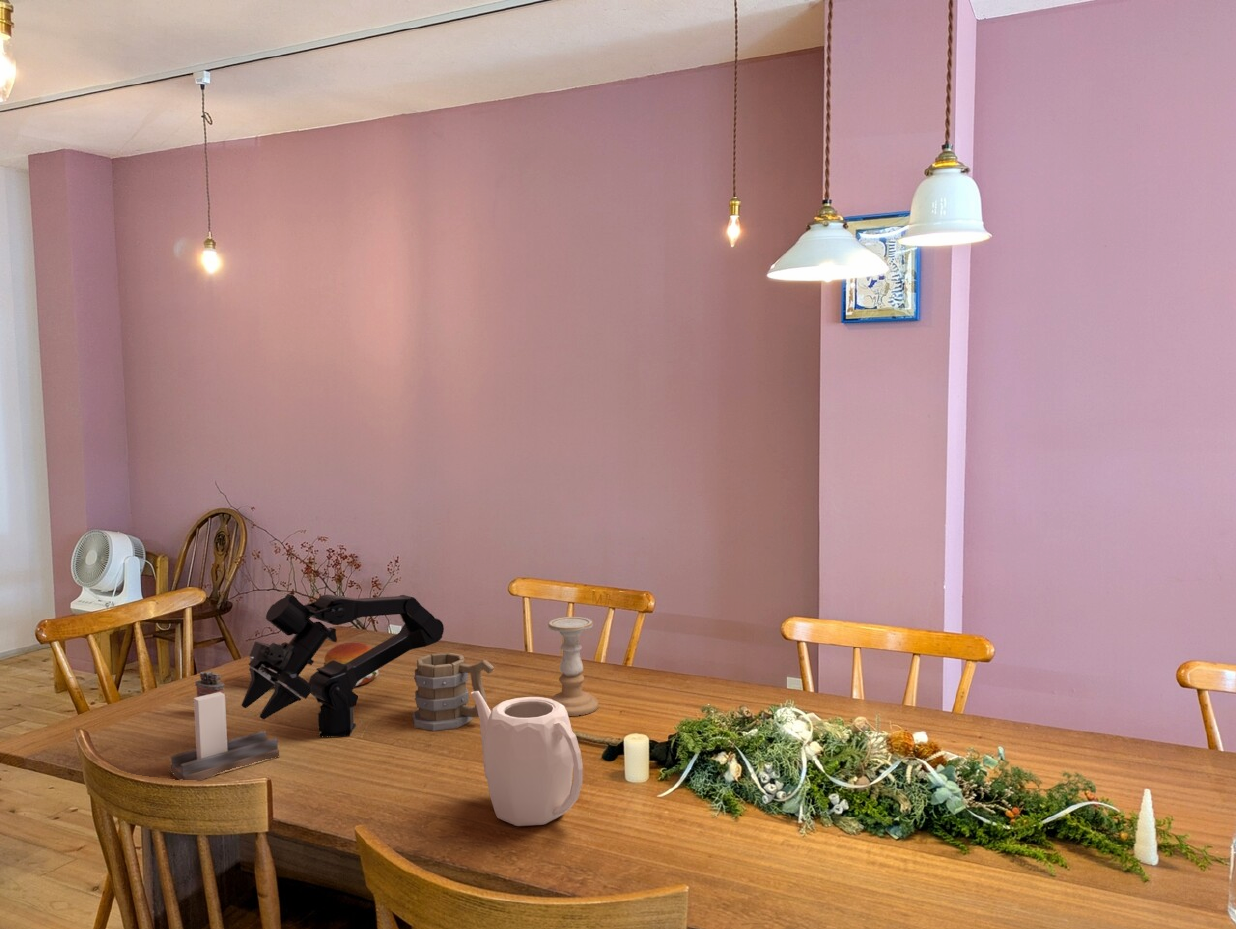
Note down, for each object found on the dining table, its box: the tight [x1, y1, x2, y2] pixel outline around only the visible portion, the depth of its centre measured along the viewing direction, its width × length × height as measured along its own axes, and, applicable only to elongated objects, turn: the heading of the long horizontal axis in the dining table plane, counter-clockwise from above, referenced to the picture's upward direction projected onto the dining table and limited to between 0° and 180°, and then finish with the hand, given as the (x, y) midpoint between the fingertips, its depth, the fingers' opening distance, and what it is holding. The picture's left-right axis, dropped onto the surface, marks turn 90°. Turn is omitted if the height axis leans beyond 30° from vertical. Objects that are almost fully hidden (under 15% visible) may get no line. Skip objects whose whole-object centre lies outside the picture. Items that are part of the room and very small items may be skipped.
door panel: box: [193, 692, 228, 759], centre depth 174 cm, size 5×2×13 cm, turn 134°
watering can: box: [470, 690, 584, 827], centre depth 154 cm, size 16×27×19 cm, turn 50°
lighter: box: [195, 670, 225, 697], centre depth 204 cm, size 8×3×10 cm, turn 62°
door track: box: [170, 730, 280, 781], centre depth 176 cm, size 18×8×4 cm, turn 134°
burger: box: [323, 641, 379, 687], centre depth 227 cm, size 14×14×10 cm
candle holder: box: [547, 616, 600, 717], centre depth 205 cm, size 12×12×20 cm
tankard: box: [412, 652, 495, 732], centre depth 197 cm, size 20×13×15 cm, turn 62°
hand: (252, 712), depth 179 cm, fingers open, 9 cm apart
